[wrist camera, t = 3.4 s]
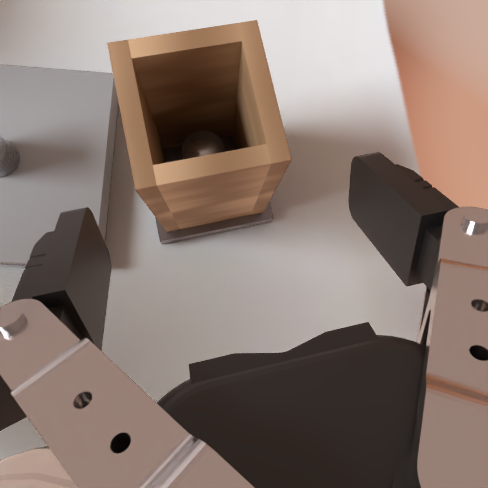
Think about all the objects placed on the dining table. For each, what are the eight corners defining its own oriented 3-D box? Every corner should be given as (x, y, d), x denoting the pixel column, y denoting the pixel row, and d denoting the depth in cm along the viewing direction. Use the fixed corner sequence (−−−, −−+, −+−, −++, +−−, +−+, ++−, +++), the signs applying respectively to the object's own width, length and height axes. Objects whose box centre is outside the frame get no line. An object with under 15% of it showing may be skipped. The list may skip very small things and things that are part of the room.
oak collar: (166, 231, 23) (135, 189, 14) (148, 138, 24) (107, 43, 15) (263, 212, 24) (291, 159, 15) (242, 121, 24) (257, 20, 15)
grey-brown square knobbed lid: (162, 244, 24) (148, 229, 19) (142, 139, 25) (123, 99, 20) (270, 221, 25) (284, 202, 20) (247, 120, 25) (254, 77, 21)
